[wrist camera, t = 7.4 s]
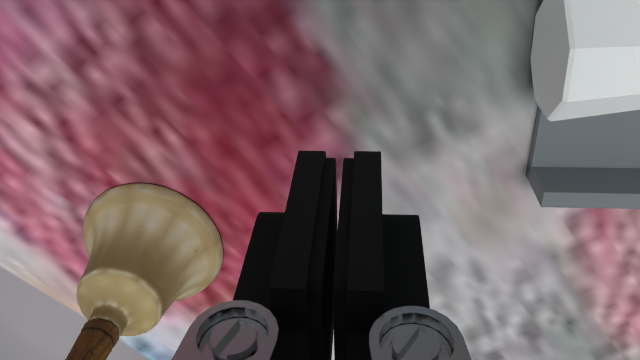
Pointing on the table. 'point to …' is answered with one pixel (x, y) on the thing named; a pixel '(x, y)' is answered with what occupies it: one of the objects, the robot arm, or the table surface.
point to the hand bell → (140, 262)
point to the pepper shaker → (586, 57)
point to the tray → (586, 161)
